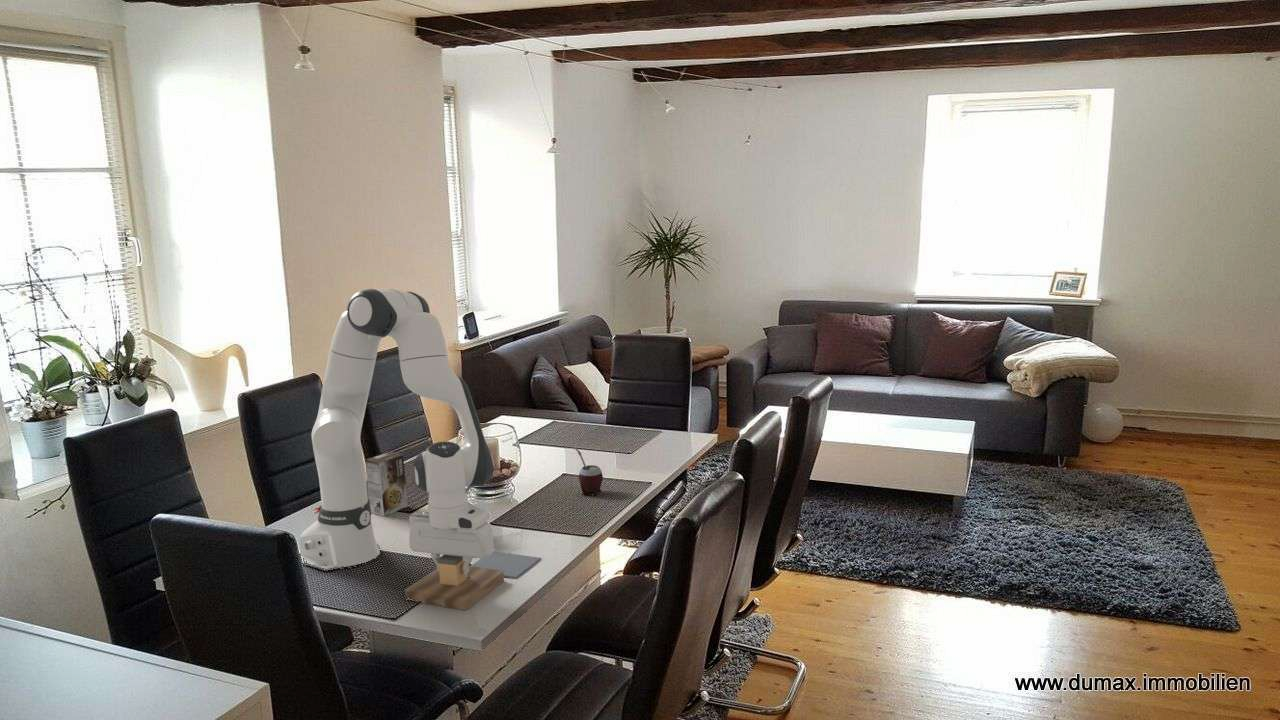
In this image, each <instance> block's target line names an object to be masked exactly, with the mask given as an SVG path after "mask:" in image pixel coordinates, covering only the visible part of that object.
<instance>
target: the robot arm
mask: <svg viewBox="0 0 1280 720" xmlns="http://www.w3.org/2000/svg"><path fill="white" fill-rule="evenodd" d="M386 337H391V338H392V339H394V341H395V343H396V344H397V350H398V357H399V359H398V360H399V368H400V371H401V372H400V373H401V376H402V380H403V383H404V385H405V386H406V387H407V389H409V390H410V391H411V392H412V393H414V394H416V395H418V396H420V397H423V398H425V399H431V400H435V401H438V402H442V403H445V404H447V405H449V406H450V407H452V408H453V409H454V410H455V412H456V414H457V417H458V419H459V423H460V427H461V430H462V433H463V436H464V439H465V443H464V444H463V445H459V444H458V443H455V442H454V441H453V442H452V441H438V442H435V443H432V444H431V445H429V446H428V447H427V448H426V450H424V451H421V452H419V453H418V455H417V456H416V457H415V458H414V460H413V461H412V466H413V478H414V479H413V480H414V486H415V487H416V488H418V489H420V490H421V491H423V492H424V493H428V501H427V505H428V506H427V509H428V510H427V511H420V510H419V511H418V510H416V511H414V512H413V513H411V514H410V516H409V519H408V520H409V521H408V522H409V534H408V535H409V536H408V537H409V540H408V542H409V543H408V545H409V548H410V549H411V551H413V552H418V553H426V554H430V556H431V557H430V558H431V559H432V561H433V562H434V564H435V565H436V569H437V571H439V565H438V559H439V558H440V557H441V555H442V556H443V555H453V556H462V557H463V561H465V563H464V564H463V565H462V566H460V574H468V573H469V566H471V563H472V561H473V559H479V560H480V559H486V558H487V557H489V556H490V555H491V554H492V553H493V551H495V541H494V533H493V529H492V526H491V525H490V524H489V523H488V520H490V513H489V512H488V510H485V509H483V508H480V507H479V506H478V507H477V506H476V505H473V504H472V503H470V502H469V501H468V496H467V493H466V492H465V488H467V487H471V486H472V487H483V486H484V485H485V484H487V483H488V482H489V481H490V479H491V478H492V476H493V475H494V473H495V465H494V464H495V461H494V459H493V455H492V454H491V451H490V449H489V447H488V444H487V441H486V438H485V436H484V432H483V429H482V426H481V422H480V419H479V416H478V413H477V409H476V407H475V404H474V401H473V397H472V395H471V392H470V390H469V387H468V384H467V382H466V381H465V380H464V378H462V377H460V376H458V375H457V374H456V373H455V372H454V370H453V369H452V366H451V364H450V361H449V356H448V349H447V345H446V340H445V336H444V333H443V329H442V326H441V324H440V321H439V319H438V318H437V316H436V315H434V314H432V313H431V310H430V307H429V304H428V302H427V300H426V299H425V298H424V297H423V296H421V295H420V294H418V293H416V292H413V291H404V290H399V289H393V288H388V289H375V288H369V289H363V290H360V291H357V292H356V293H355V294H353V295H352V296H351V297H350V299H349V302H348V303H347V307H346V310H344V312H342V314H341V315H340V316H339V319H338V322H337V324H336V327H335V329H334V333H333V336H332V339H331V343H330V347H329V353H328V356H327V357H328V358H327V362H326V367H325V372H324V376H323V381H322V382H323V383H322V389H321V394H320V395H321V396H320V399H319V407H318V411H317V416H316V419H315V422H314V425H313V427H312V430H311V435H310V436H311V443H312V450H313V455H314V461H315V464H316V465H315V466H316V471H317V475H318V481H319V490H320V491H319V492H320V500H321V505H319V507H317V508H315V509H313V514H318V516H317V519H316V521H314V522H313V523H312V524H311V525H309V526H308V527H307V528H306V529H305V530H304V531H303V532H302V533H301V534H300V537H299V540H298V549H299V550H300V554H301V558H302V562H303V564H304V561H305V562H306V561H307V563H309V564H311V565H315V566H318V567H321V568H324V569H329V568H334V567H342V566H350V565H356V564H360V563H364V562H368V561H370V560H372V559H374V558H375V559H377V558H378V557H379V556H380V554H381V551H380V549H379V546H378V543H377V540H376V536H375V532H374V528H373V524H372V521H371V520H372V513H371V505H370V501H369V495H368V484H367V474H366V467H365V462H364V458H363V450H362V443H361V433H362V427H363V422H364V418H365V414H366V409H367V404H368V399H369V395H370V389H371V386H372V379H373V376H374V370H375V366H376V362H377V361H376V360H377V356H378V350H379V346H380V342H381V341H382V339H383V338H386ZM472 487H471V488H472ZM378 555H379V556H378ZM377 556H378V557H377ZM376 557H377V558H376ZM303 558H304V561H303ZM375 559H374V560H375ZM372 561H373V560H372ZM370 562H371V561H370ZM368 563H369V562H368ZM324 565H327V566H324Z"/></svg>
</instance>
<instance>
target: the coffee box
mask: <svg viewBox="0 0 1280 720" xmlns="http://www.w3.org/2000/svg"><path fill="white" fill-rule="evenodd" d="M364 461H365V462H364V464H365V474H366V483H367V493H368V500H369V501H370V505H371V514H373V513H374V515H378V516H380V517H386V516H389V515H391V514H394V513H396V512H399V511H401V510H403V509H402V508H404V509H406V508H408V507H409V501H408V500H409V498H408V490H407V489H408V488H407V480H406V470H405V469H406V468H405V462H404V461H405V460H404V454H401V453H398V452H393V451H387V452H384V453H381V454H378V455H375V456H372V457H369V458H366V459H365V460H364ZM407 506H408V507H407ZM405 507H406V508H405ZM400 509H401V510H400ZM398 510H399V511H398Z"/></svg>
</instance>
